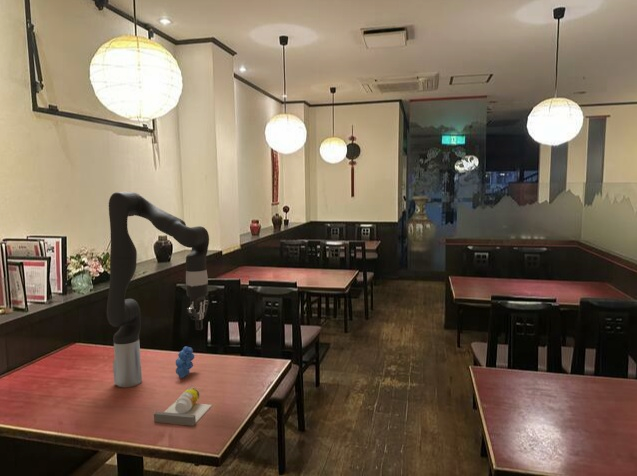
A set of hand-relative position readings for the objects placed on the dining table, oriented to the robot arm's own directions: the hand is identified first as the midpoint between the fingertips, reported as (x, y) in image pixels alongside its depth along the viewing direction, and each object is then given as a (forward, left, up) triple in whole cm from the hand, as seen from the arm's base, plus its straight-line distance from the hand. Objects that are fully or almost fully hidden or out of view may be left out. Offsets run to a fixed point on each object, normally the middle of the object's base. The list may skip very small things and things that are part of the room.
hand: (199, 329), depth 163 cm
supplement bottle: (-1, -6, -22) cm, 22 cm away
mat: (0, -13, -25) cm, 28 cm away
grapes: (-16, +15, -25) cm, 33 cm away
